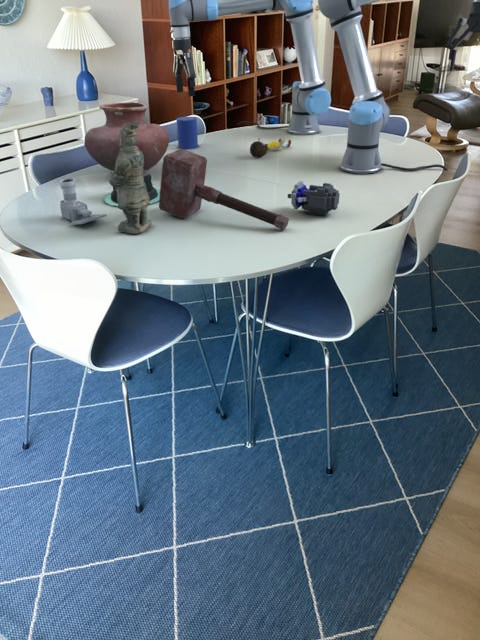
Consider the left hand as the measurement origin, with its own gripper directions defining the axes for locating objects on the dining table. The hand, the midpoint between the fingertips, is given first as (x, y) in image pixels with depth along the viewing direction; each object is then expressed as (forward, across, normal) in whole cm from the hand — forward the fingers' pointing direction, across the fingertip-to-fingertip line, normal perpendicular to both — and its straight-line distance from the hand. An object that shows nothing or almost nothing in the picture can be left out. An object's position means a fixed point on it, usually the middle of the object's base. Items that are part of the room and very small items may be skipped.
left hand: (185, 94), depth 237 cm
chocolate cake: (+22, +58, -44) cm, 76 cm away
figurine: (+23, +28, +25) cm, 44 cm away
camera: (+21, +72, -64) cm, 99 cm away
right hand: (-10, +84, +75) cm, 113 cm away
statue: (+21, +87, -52) cm, 103 cm away
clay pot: (+22, +28, -36) cm, 51 cm away
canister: (+22, 0, -1) cm, 22 cm away
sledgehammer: (+22, +93, -26) cm, 99 cm away
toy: (+23, +100, 0) cm, 103 cm away
